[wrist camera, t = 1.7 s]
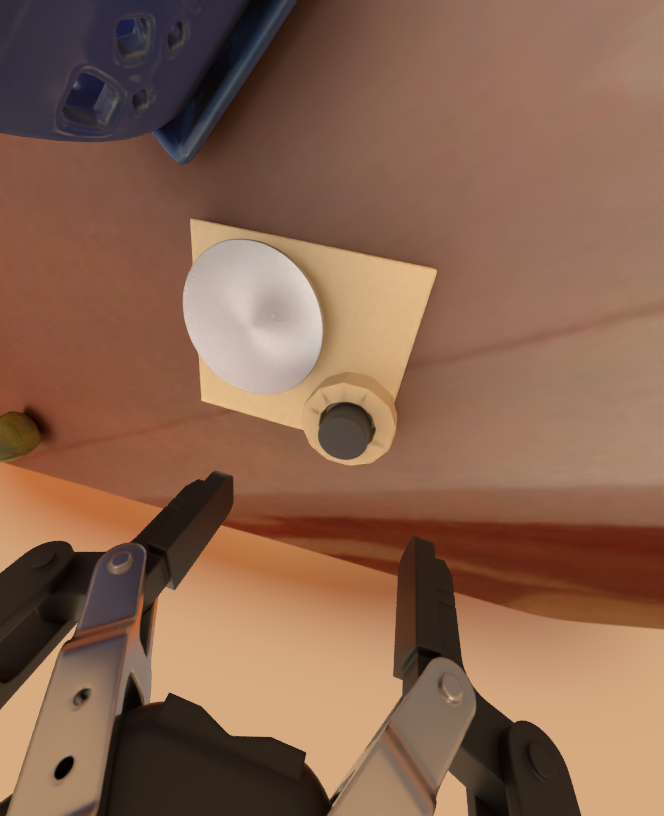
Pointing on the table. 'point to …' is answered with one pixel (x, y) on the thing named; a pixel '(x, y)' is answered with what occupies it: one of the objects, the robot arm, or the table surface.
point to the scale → (337, 338)
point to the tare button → (345, 432)
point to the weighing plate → (253, 316)
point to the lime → (17, 436)
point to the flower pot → (129, 67)
